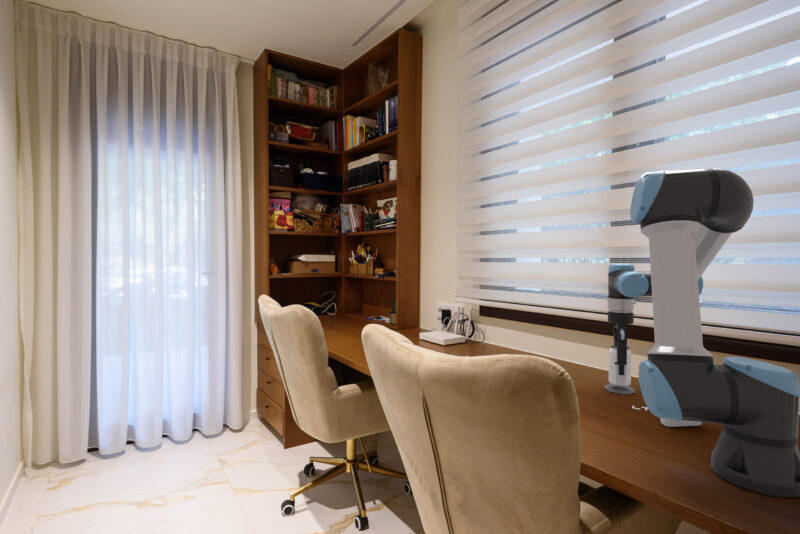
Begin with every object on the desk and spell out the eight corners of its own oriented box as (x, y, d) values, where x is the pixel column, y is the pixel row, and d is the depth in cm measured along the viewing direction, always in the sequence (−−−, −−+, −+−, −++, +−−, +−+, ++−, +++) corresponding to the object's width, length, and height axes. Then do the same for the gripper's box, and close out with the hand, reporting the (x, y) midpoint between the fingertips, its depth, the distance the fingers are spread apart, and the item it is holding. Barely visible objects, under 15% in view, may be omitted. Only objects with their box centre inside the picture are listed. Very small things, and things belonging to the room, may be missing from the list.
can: (610, 385, 138) (610, 348, 137) (607, 380, 144) (607, 344, 144) (632, 387, 136) (633, 350, 135) (628, 381, 142) (628, 345, 142)
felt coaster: (637, 395, 134) (637, 394, 134) (605, 392, 138) (605, 390, 138) (633, 387, 143) (633, 385, 143) (603, 384, 146) (603, 382, 146)
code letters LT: (650, 410, 122) (650, 410, 122) (633, 408, 123) (633, 408, 123) (649, 407, 124) (649, 407, 124) (631, 405, 126) (631, 405, 126)
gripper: (638, 315, 129) (636, 391, 130) (629, 307, 147) (628, 374, 147) (610, 314, 131) (609, 388, 132) (605, 307, 149) (604, 372, 150)
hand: (619, 381), depth 140 cm, fingers closed on can, 6 cm apart
